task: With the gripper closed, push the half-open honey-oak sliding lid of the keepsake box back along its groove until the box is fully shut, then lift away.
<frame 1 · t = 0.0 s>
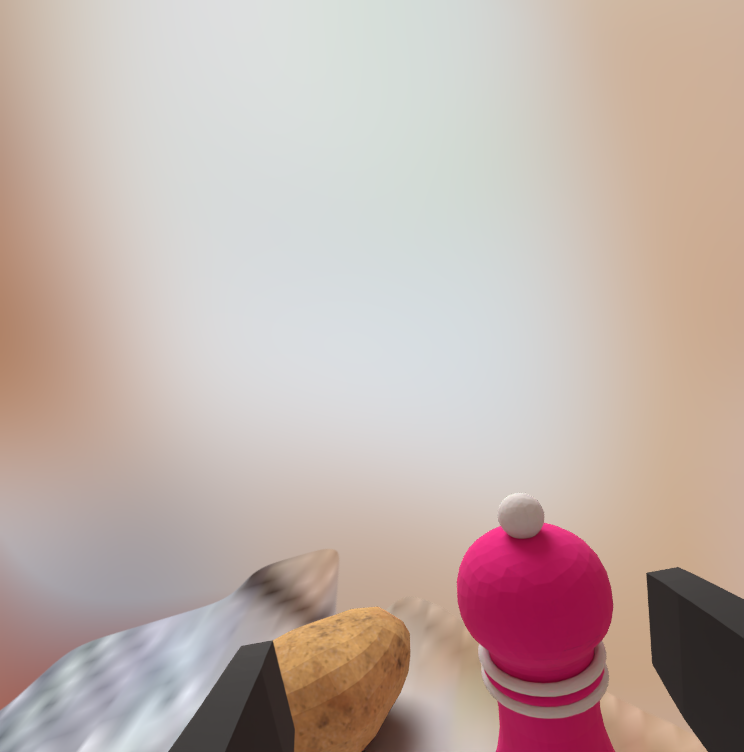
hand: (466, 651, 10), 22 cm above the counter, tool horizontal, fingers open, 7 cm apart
potato: (331, 745, 36), on the counter
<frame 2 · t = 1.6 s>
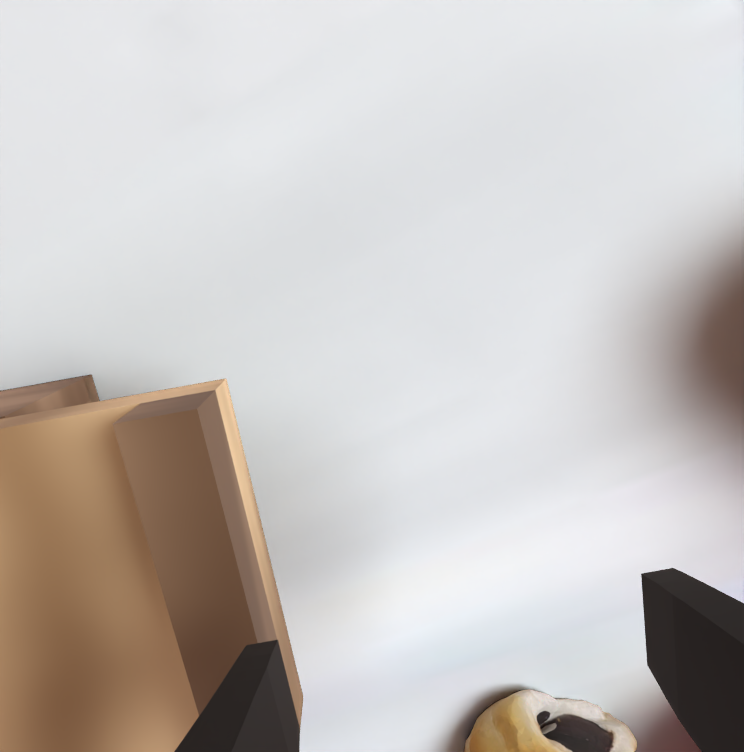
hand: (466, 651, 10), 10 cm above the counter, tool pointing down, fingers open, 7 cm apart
lid: (27, 620, 14), point 7 cm above the counter, slide at 6.0 cm
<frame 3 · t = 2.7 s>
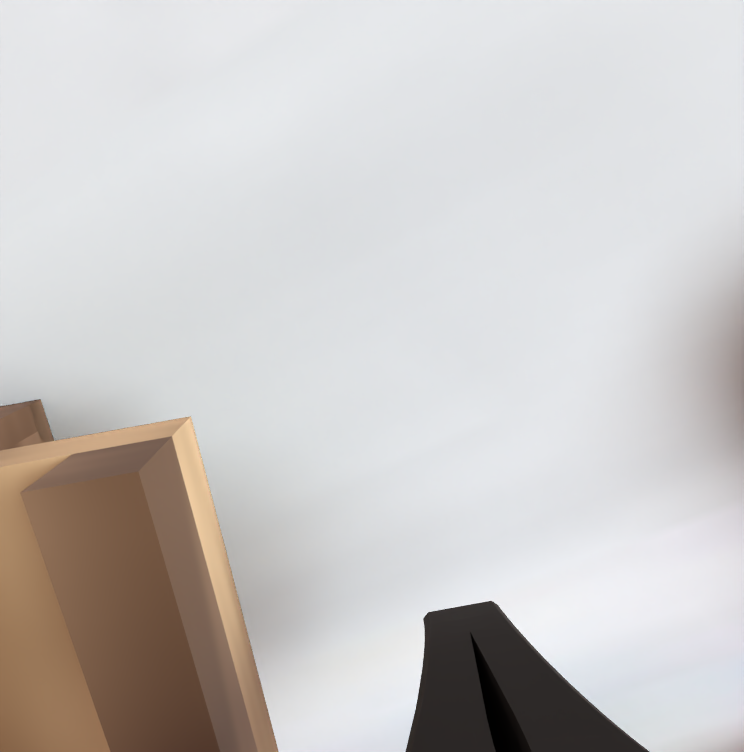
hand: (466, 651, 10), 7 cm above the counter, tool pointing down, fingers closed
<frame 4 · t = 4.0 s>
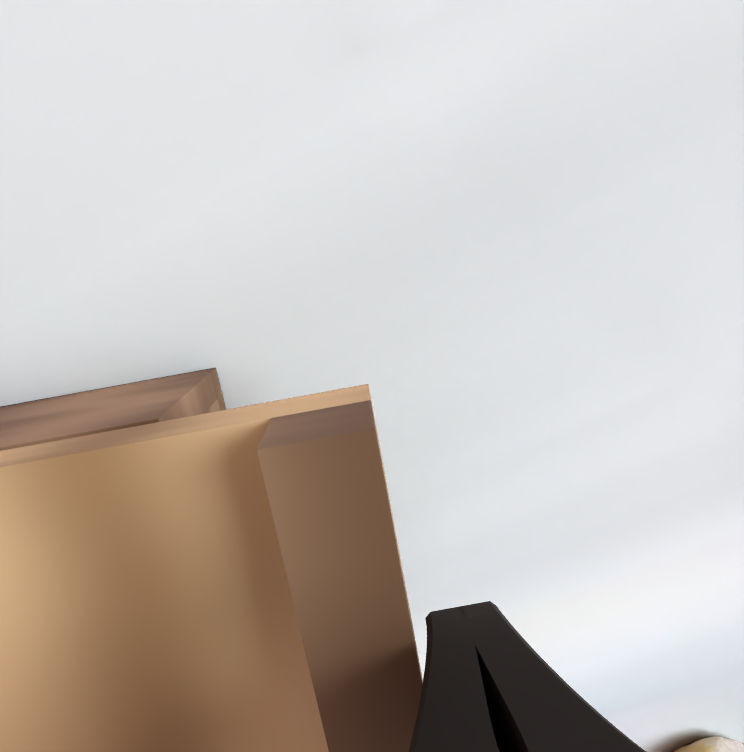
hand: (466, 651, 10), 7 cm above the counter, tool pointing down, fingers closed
lid: (113, 700, 11), point 7 cm above the counter, slide at 4.4 cm, touching gripper
keepsake box: (66, 554, 17), on the counter
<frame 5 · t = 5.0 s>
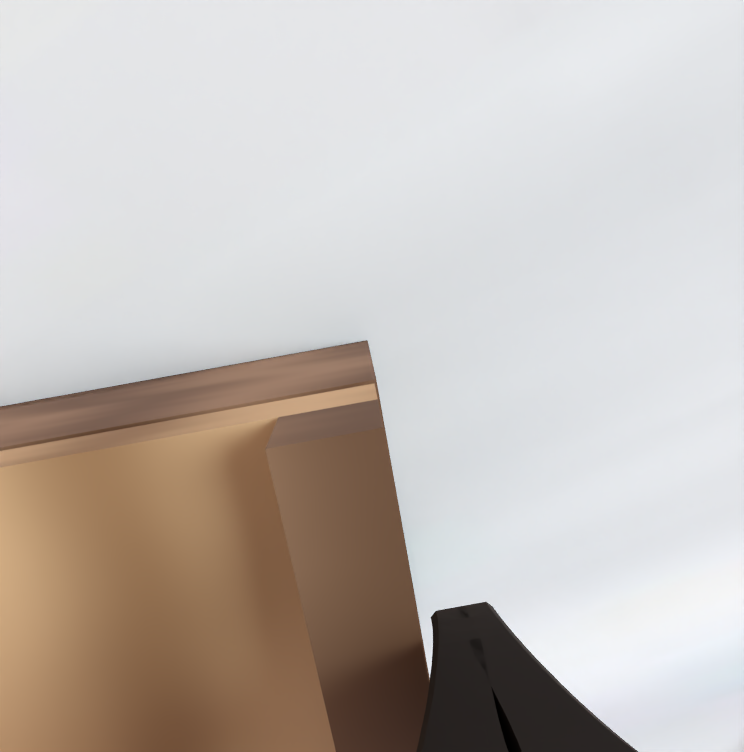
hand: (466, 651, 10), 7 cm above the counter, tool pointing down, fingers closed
lid: (119, 699, 11), point 7 cm above the counter, slide at 0.0 cm, touching gripper
keepsake box: (207, 528, 17), on the counter
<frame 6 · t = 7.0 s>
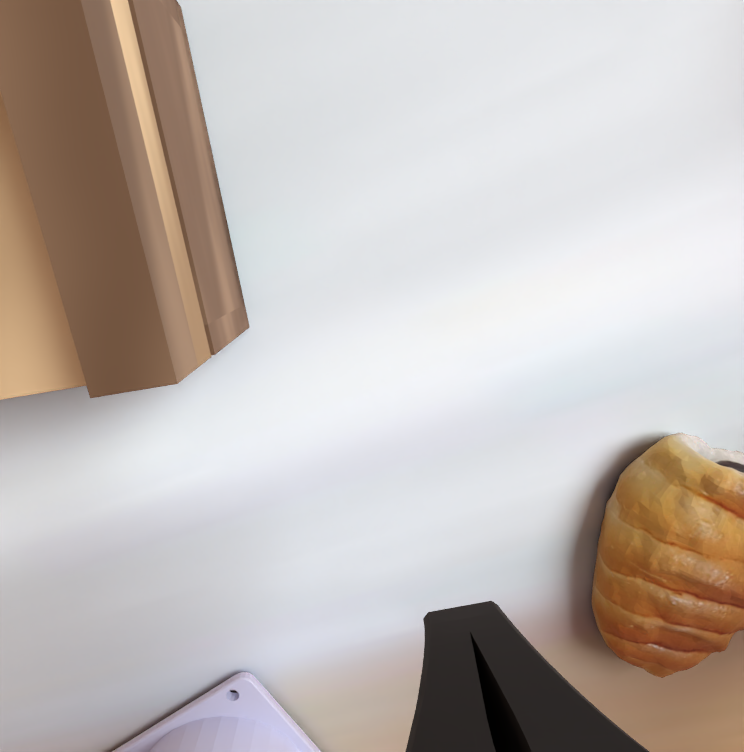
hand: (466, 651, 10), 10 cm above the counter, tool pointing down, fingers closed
pastry: (672, 526, 22), on the counter
keepsake box: (36, 207, 18), on the counter
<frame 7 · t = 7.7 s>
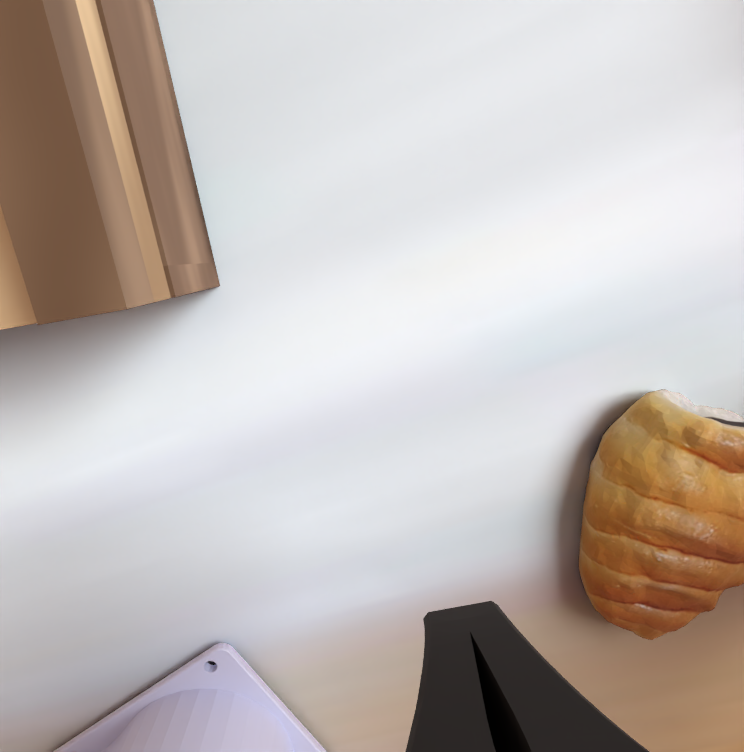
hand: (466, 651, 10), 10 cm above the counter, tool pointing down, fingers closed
pastry: (658, 488, 22), on the counter
keepsake box: (0, 164, 18), on the counter
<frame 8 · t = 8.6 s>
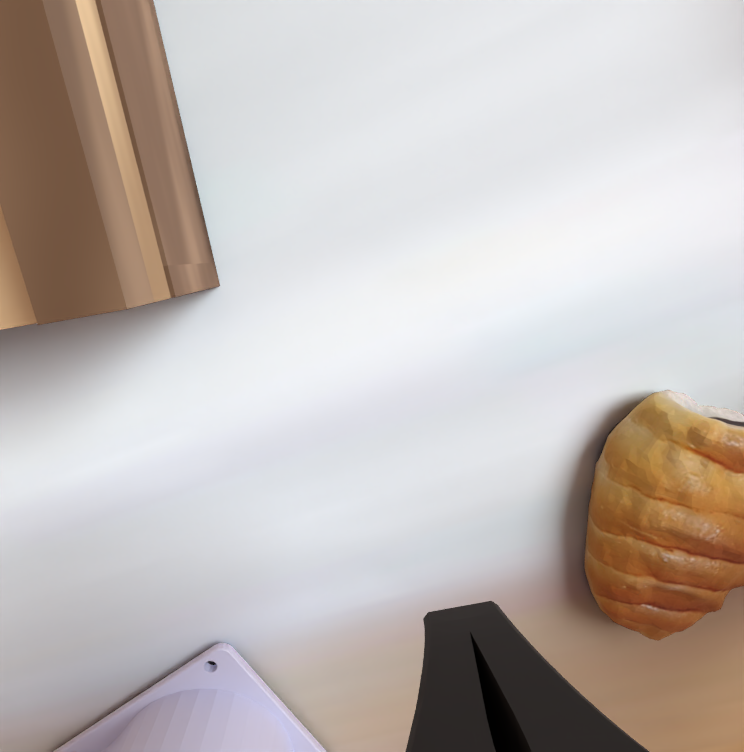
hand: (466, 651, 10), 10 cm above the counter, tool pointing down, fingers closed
pastry: (663, 488, 22), on the counter
keepsake box: (0, 164, 18), on the counter
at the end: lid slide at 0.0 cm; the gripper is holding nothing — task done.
